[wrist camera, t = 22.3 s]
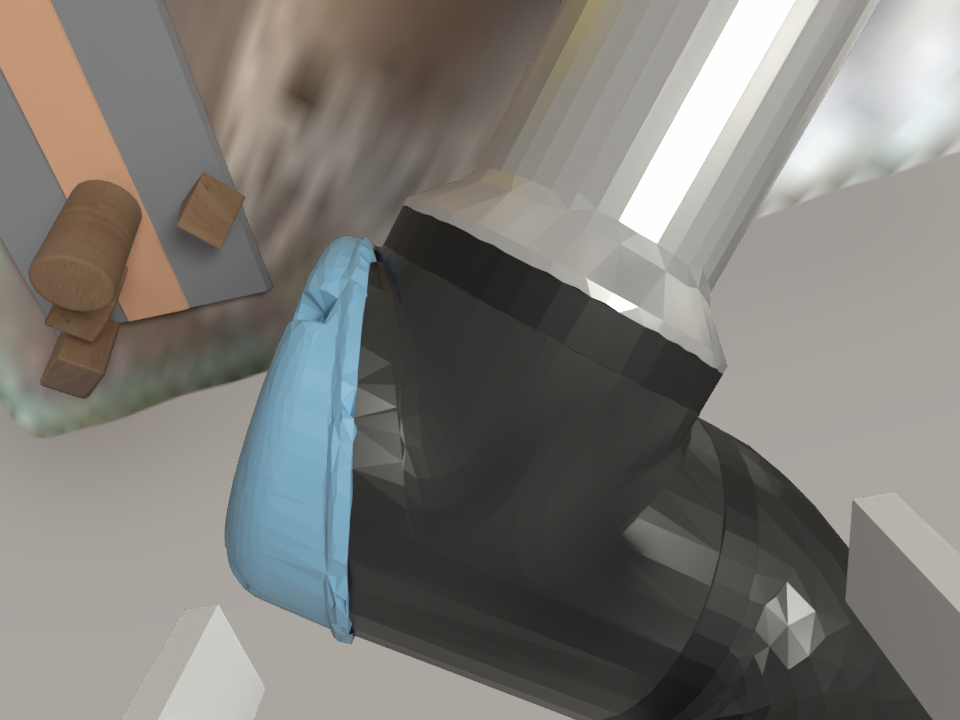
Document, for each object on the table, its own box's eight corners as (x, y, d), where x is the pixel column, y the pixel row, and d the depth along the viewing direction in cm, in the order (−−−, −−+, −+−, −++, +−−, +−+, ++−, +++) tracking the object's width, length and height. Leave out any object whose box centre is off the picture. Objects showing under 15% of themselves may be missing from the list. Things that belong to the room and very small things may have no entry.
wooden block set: (130, 344, 48) (105, 434, 41) (9, 297, 43) (-45, 391, 35) (246, 186, 42) (241, 259, 35) (121, 107, 36) (83, 174, 29)
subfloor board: (134, -75, 35) (120, -83, 34) (272, 286, 45) (266, 292, 44) (-120, -4, 37) (-144, -8, 35) (66, 330, 47) (54, 337, 45)
